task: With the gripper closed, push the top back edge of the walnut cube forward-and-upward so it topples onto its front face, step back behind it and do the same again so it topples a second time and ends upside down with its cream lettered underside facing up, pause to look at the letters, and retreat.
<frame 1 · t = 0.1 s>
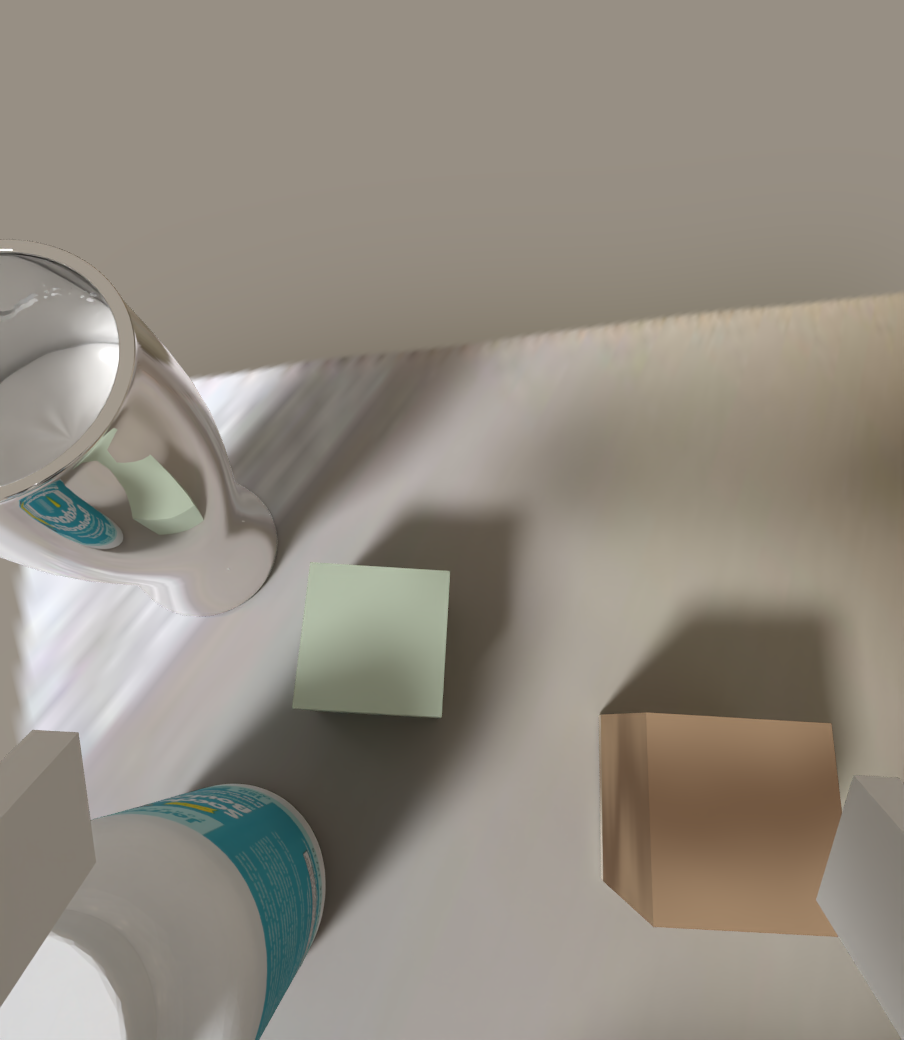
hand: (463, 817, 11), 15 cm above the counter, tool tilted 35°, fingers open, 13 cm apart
pill bottle: (230, 886, 24), on the counter
walnut block: (675, 798, 25), on the counter
sage block: (383, 652, 27), on the counter
beer glass: (209, 549, 28), on the counter
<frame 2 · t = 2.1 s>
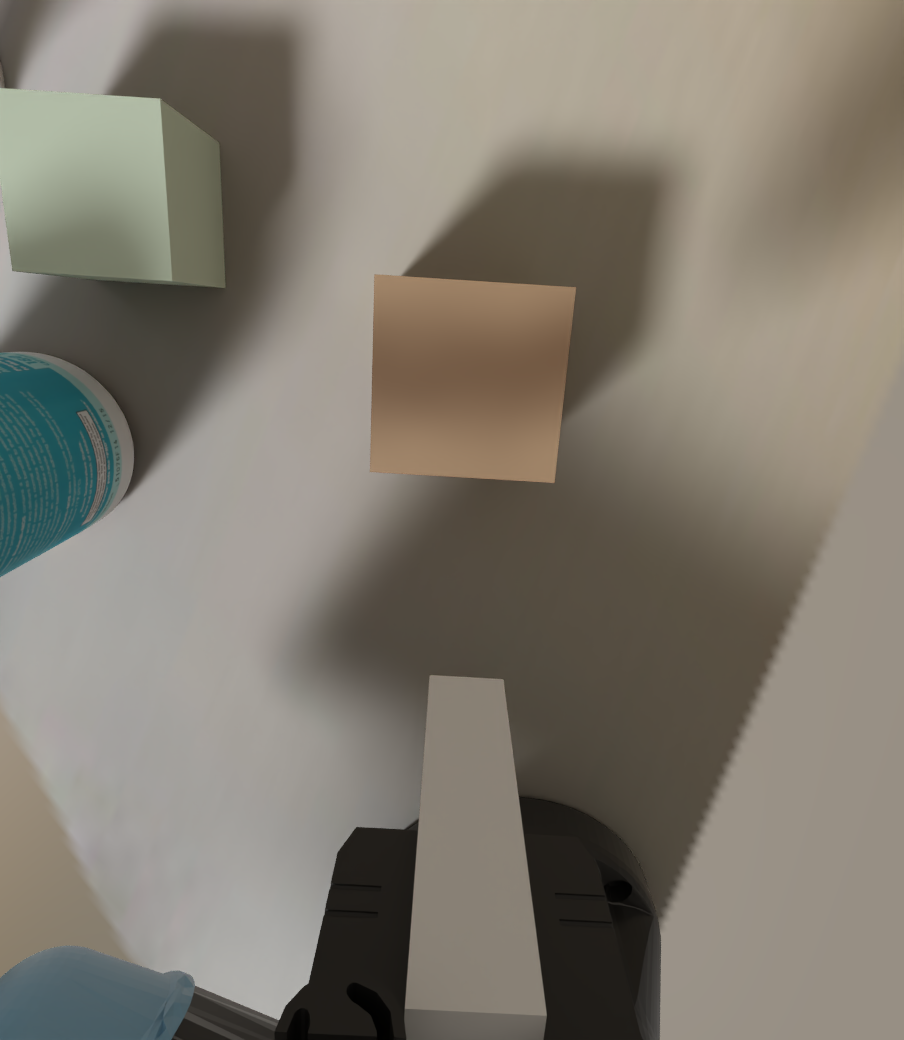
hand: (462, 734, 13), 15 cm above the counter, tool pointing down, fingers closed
pill bottle: (54, 441, 27), on the counter
walnut block: (465, 369, 26), on the counter
sage block: (156, 213, 24), on the counter
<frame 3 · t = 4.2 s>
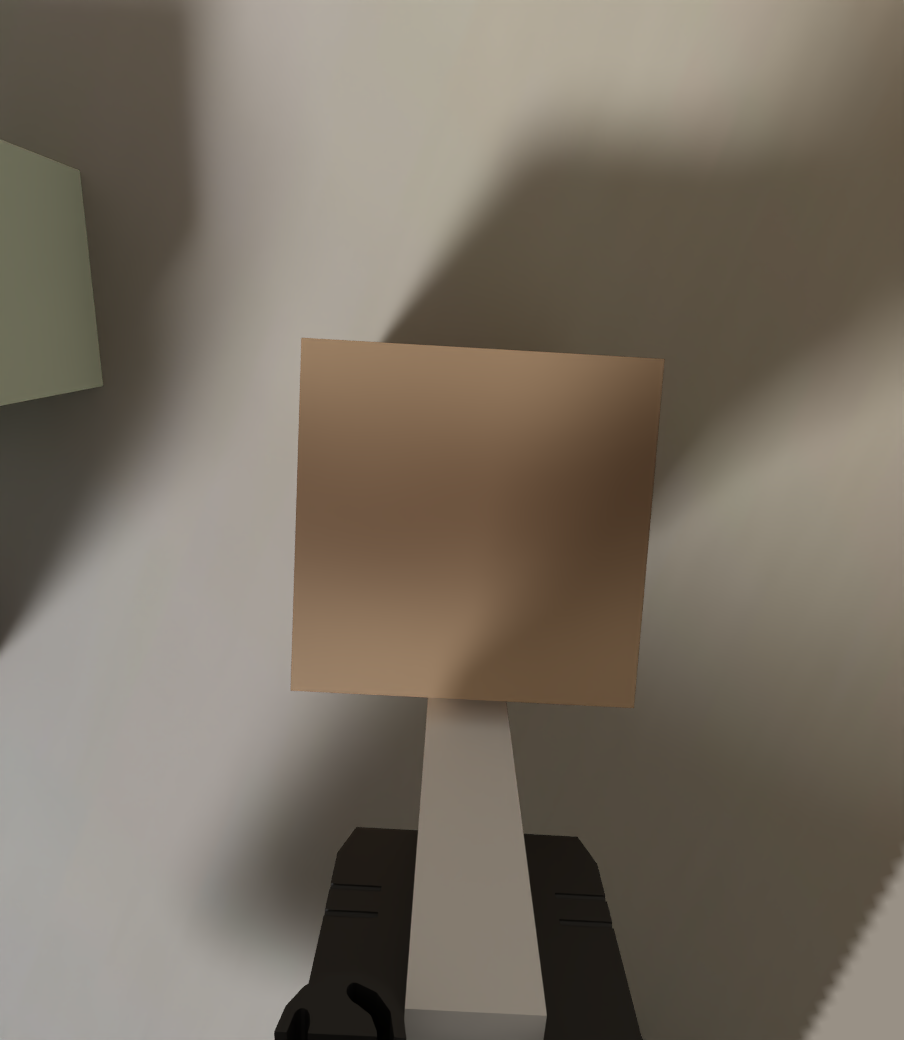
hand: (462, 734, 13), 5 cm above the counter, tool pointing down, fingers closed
walnut block: (463, 502, 17), point 1 cm above the counter, tilted 12°, touching gripper
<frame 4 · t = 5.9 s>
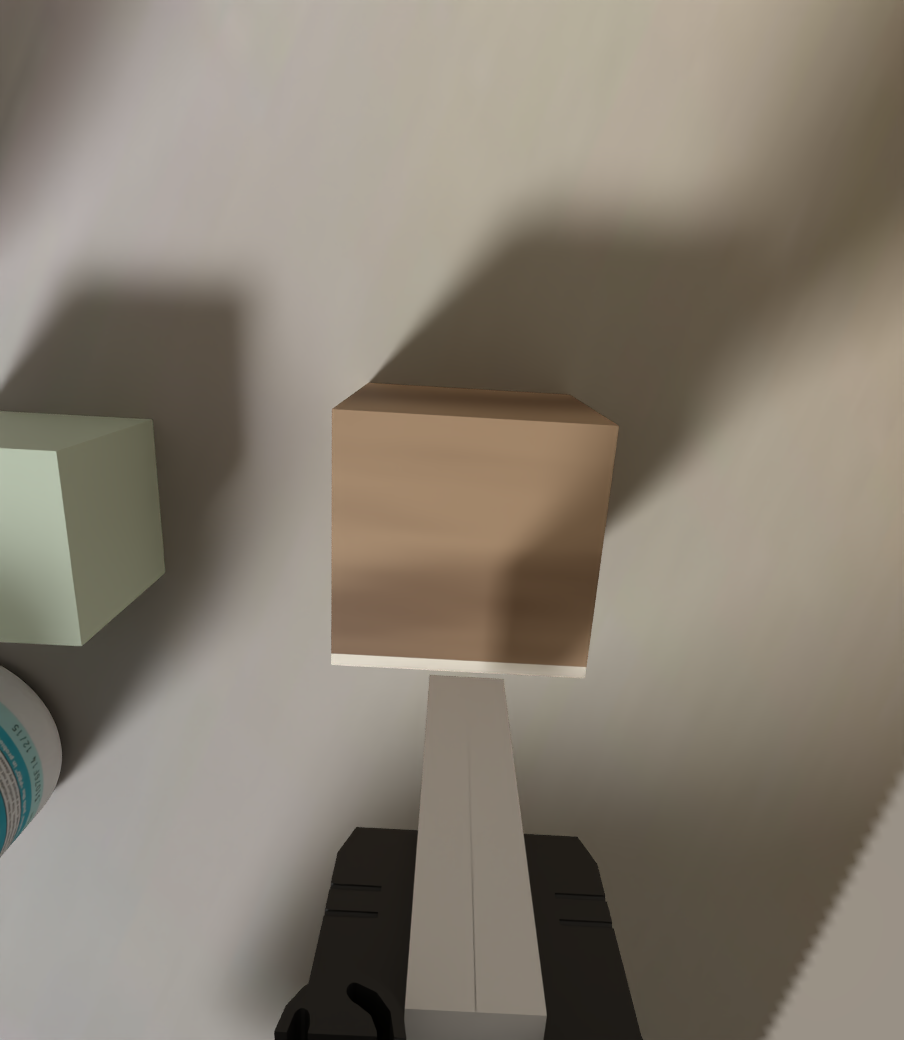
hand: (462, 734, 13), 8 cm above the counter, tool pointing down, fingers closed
walnut block: (457, 615, 18), point 3 cm above the counter, tilted 90°
sage block: (80, 493, 20), on the counter
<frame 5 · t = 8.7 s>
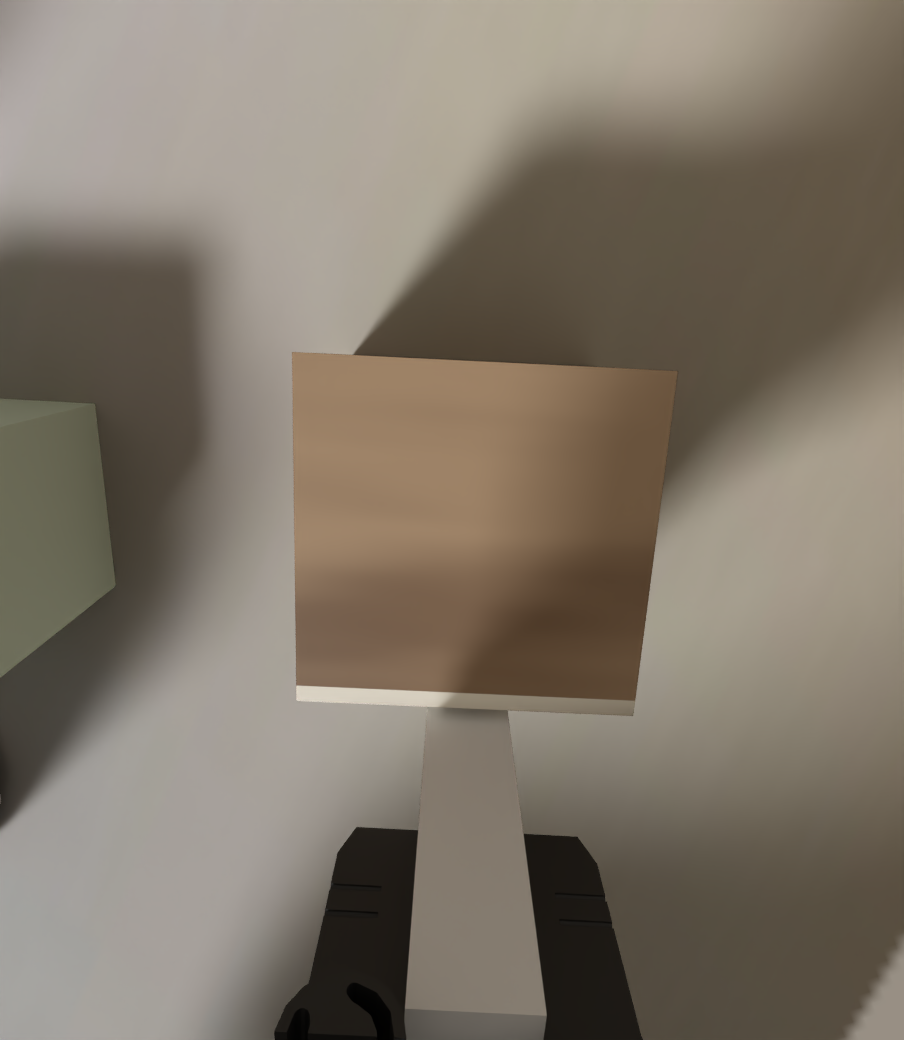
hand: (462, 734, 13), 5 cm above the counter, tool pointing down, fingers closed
walnut block: (463, 637, 14), point 3 cm above the counter, tilted 94°, touching gripper
sage block: (12, 493, 17), on the counter
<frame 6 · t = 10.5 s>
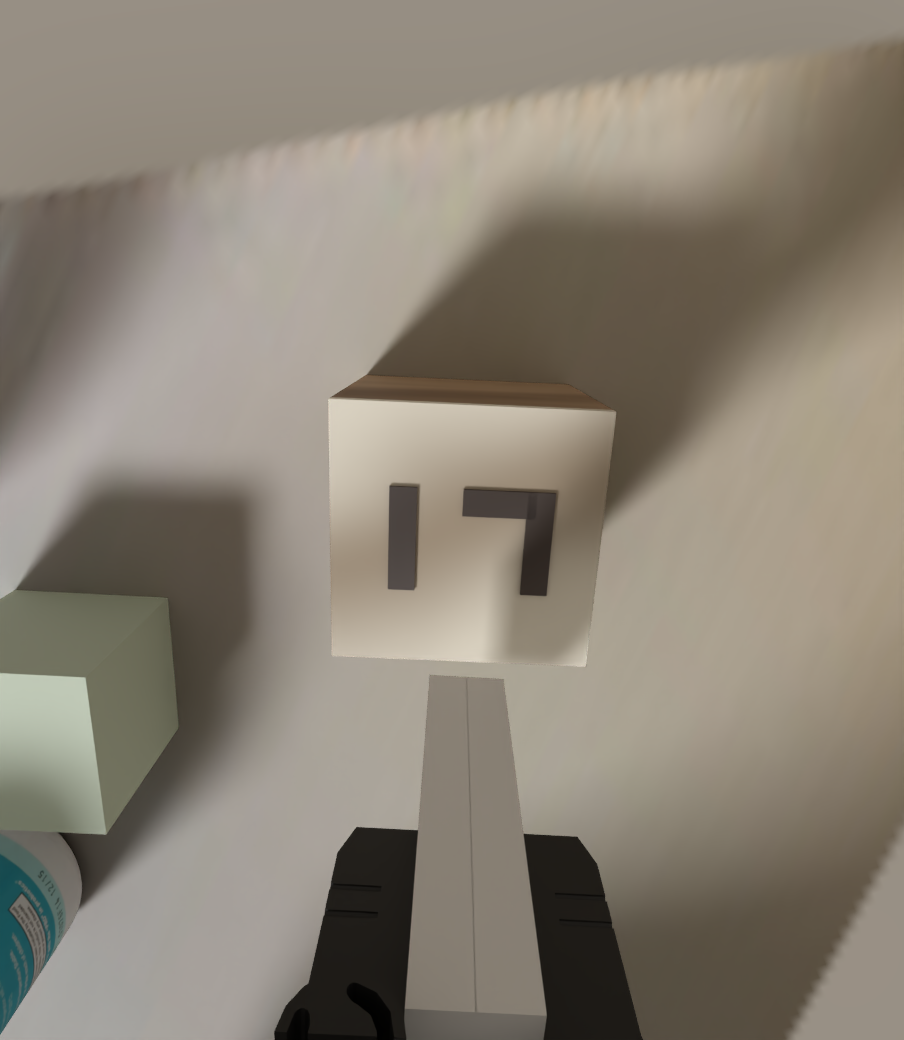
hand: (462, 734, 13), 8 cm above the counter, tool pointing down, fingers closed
walnut block: (465, 541, 14), point 6 cm above the counter, tilted 180°
sage block: (101, 660, 22), on the counter
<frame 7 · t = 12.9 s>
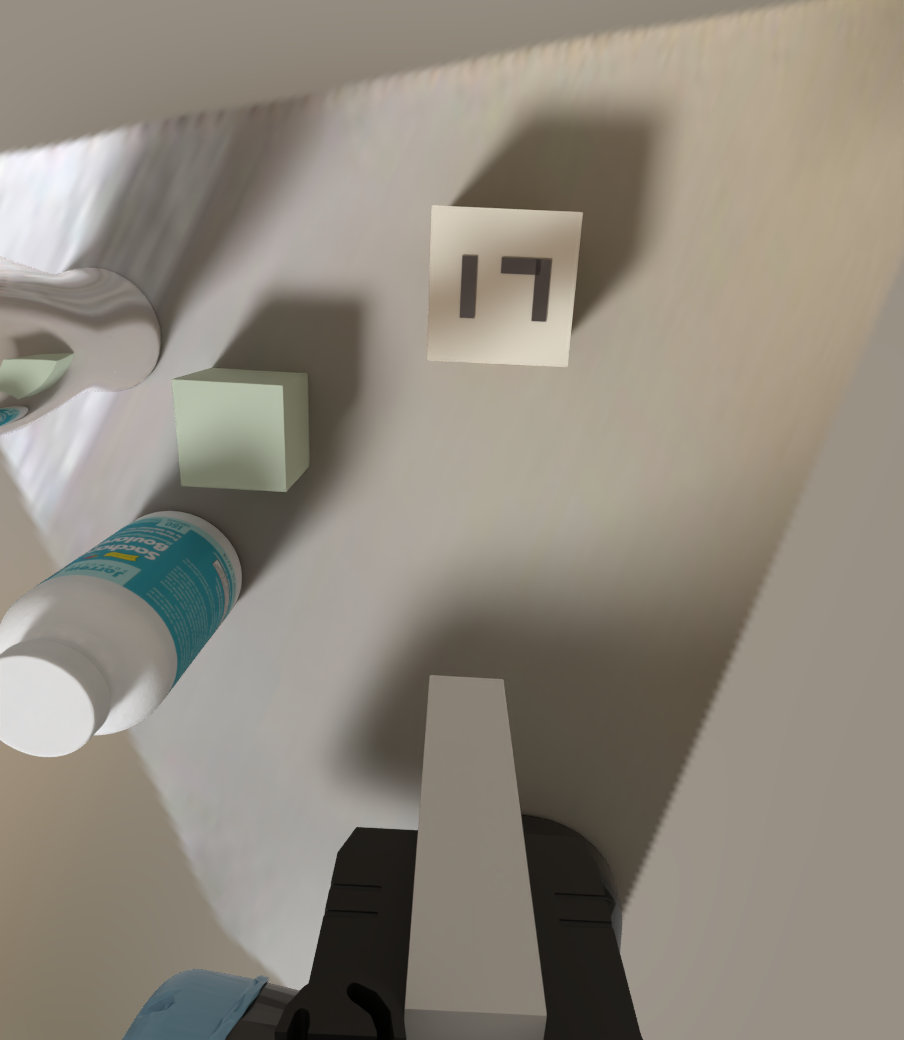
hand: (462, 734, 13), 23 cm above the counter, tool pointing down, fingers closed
pill bottle: (183, 565, 37), on the counter
walnut block: (502, 289, 26), point 6 cm above the counter, tilted 180°
sage block: (262, 417, 34), on the counter
beer glass: (105, 331, 33), on the counter
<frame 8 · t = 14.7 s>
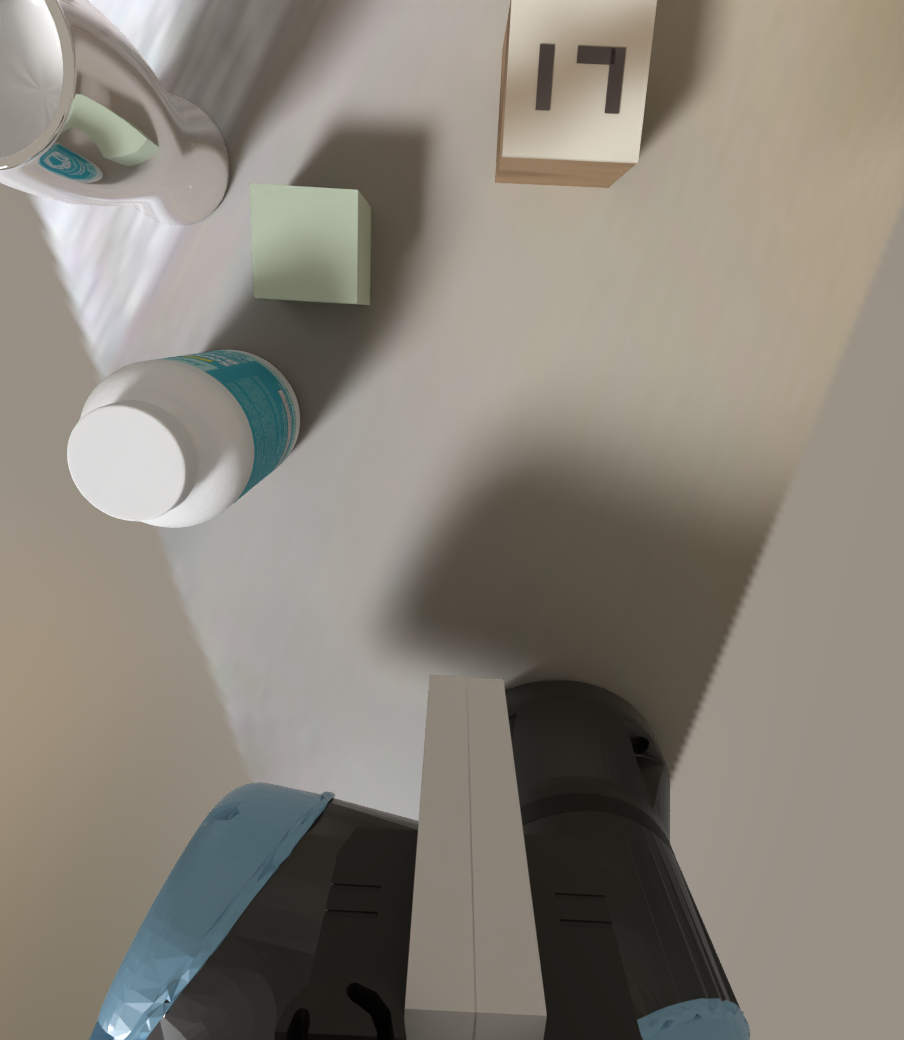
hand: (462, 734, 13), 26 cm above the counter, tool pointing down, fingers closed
pill bottle: (241, 413, 38), on the counter
walnut block: (577, 79, 27), point 6 cm above the counter, tilted 180°
sage block: (325, 254, 35), on the counter
beer glass: (174, 163, 34), on the counter
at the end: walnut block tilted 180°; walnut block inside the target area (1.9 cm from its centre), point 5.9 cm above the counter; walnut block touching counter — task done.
